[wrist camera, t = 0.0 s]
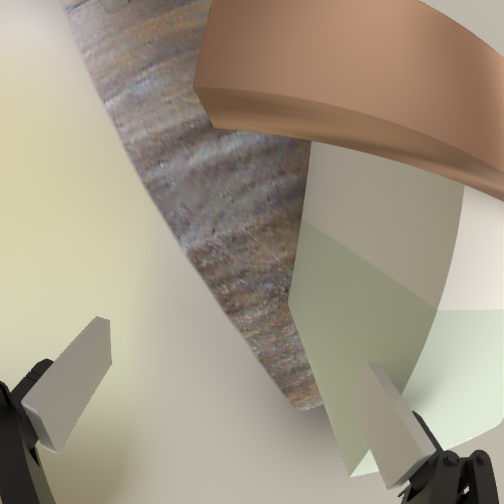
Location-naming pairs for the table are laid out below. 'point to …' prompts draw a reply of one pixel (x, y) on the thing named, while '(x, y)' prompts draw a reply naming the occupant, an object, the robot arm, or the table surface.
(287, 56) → the bar
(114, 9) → the tea bag
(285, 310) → the table surface
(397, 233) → the pale green cube
